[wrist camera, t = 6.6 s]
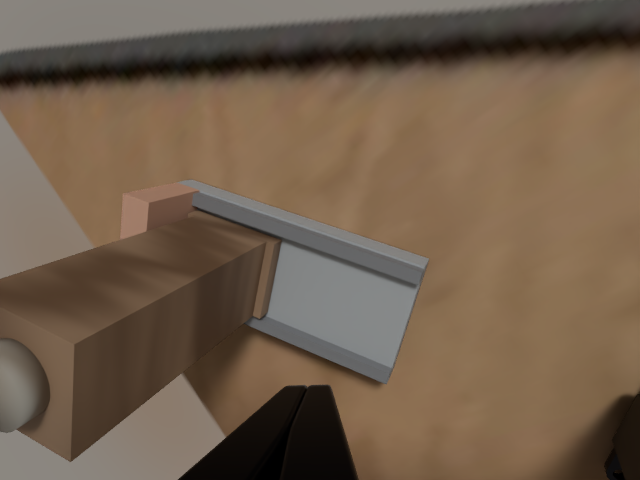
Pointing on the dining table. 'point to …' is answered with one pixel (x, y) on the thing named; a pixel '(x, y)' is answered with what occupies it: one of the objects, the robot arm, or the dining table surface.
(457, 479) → the dining table surface
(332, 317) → the rail
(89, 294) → the slider block with knob
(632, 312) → the dining table surface
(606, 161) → the dining table surface
